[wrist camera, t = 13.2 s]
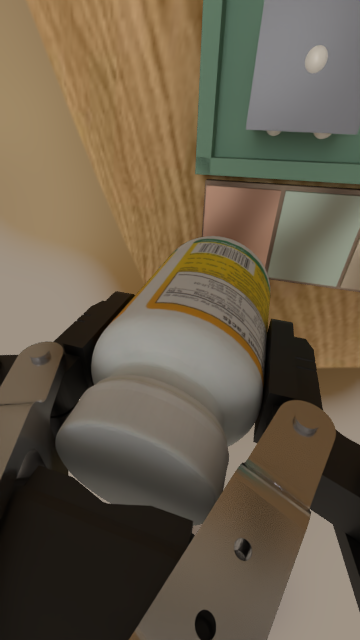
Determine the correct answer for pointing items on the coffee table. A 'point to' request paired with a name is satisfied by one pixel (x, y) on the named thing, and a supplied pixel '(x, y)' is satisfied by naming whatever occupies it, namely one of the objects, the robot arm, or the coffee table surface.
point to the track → (290, 229)
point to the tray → (233, 104)
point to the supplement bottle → (174, 382)
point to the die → (307, 68)
